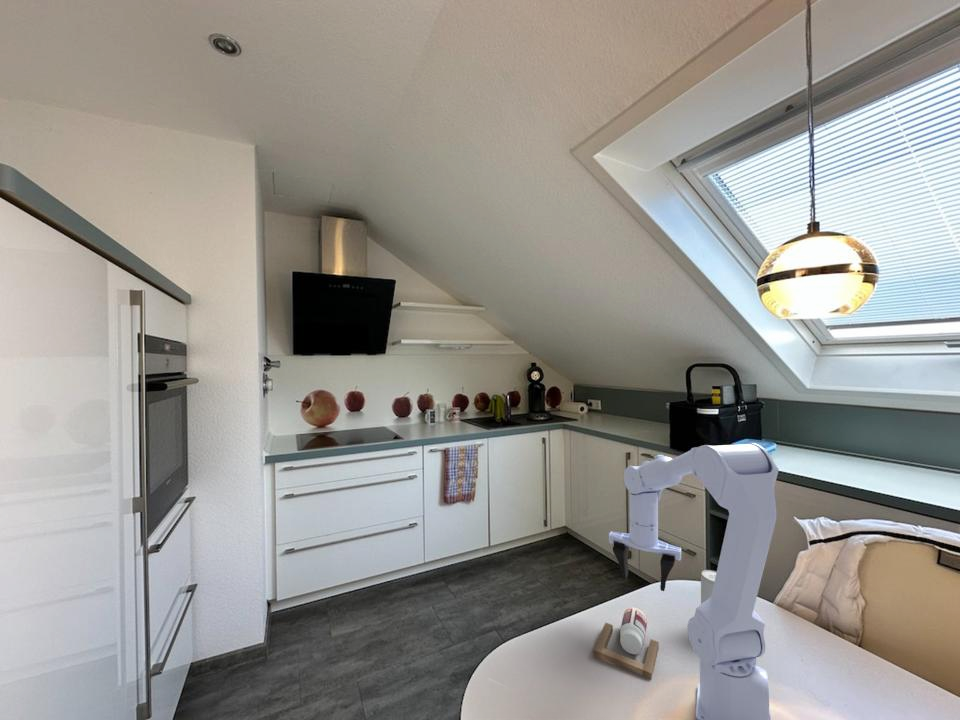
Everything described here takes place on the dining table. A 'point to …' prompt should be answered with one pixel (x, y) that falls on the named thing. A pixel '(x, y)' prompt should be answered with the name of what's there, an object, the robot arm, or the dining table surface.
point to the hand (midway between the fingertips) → (643, 582)
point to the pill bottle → (633, 630)
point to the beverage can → (707, 584)
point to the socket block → (621, 660)
